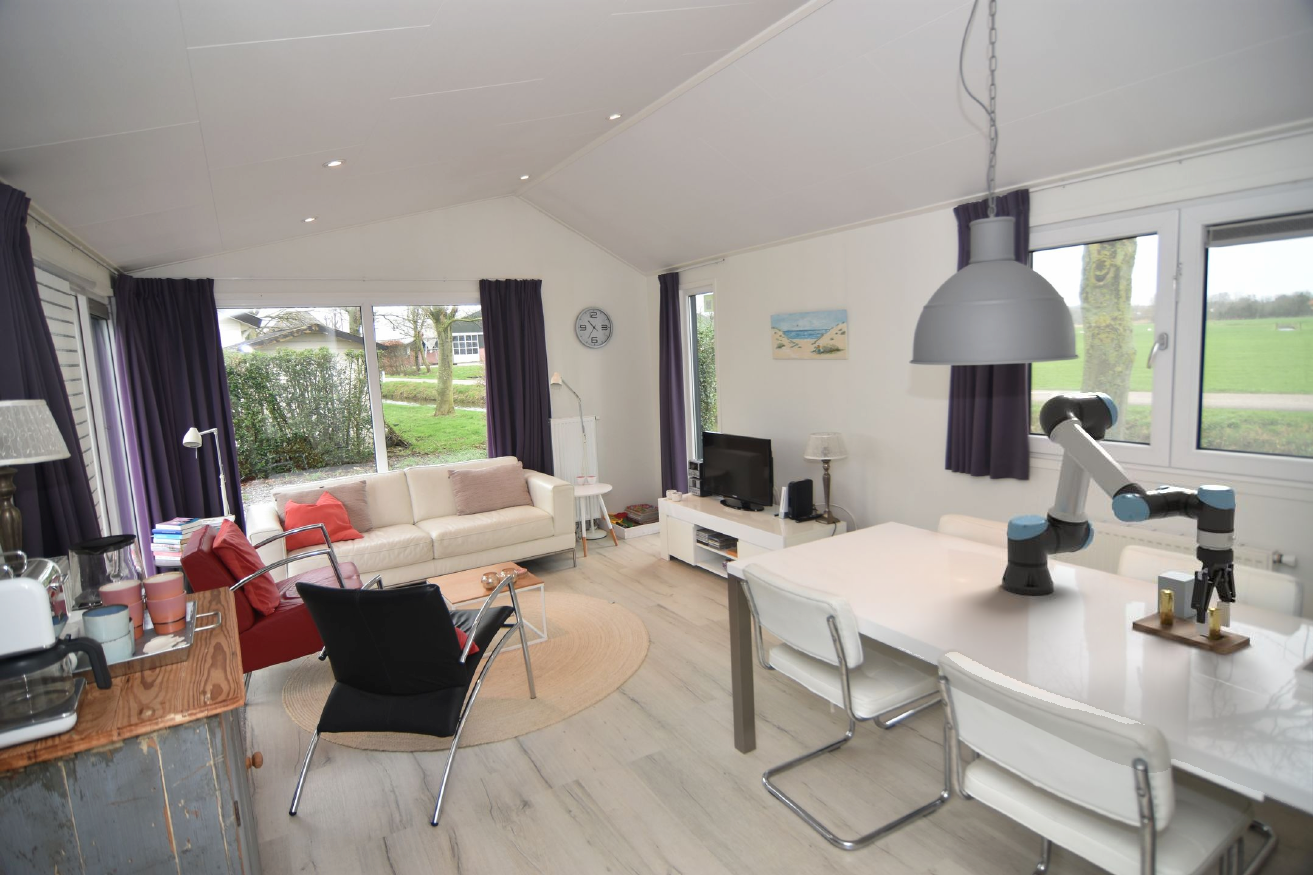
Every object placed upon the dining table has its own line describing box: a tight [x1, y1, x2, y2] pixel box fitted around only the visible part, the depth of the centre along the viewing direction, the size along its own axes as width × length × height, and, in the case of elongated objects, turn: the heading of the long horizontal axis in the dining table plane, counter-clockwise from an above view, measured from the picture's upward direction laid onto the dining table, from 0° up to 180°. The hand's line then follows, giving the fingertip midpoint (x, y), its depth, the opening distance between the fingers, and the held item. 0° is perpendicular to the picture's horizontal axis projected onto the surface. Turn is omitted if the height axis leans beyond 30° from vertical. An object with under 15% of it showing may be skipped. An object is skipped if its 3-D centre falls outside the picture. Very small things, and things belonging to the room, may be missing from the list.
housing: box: [1157, 570, 1196, 620], centre depth 203 cm, size 7×7×11 cm
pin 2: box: [1206, 606, 1222, 641], centre depth 183 cm, size 3×3×9 cm
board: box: [1132, 612, 1251, 656], centre depth 189 cm, size 22×12×2 cm, turn 26°
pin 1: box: [1159, 590, 1174, 625], centre depth 193 cm, size 3×3×9 cm
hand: (1212, 629), depth 183 cm, fingers open, 9 cm apart
